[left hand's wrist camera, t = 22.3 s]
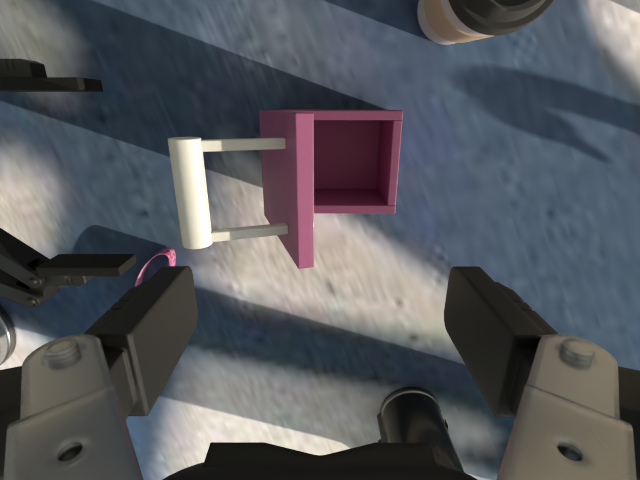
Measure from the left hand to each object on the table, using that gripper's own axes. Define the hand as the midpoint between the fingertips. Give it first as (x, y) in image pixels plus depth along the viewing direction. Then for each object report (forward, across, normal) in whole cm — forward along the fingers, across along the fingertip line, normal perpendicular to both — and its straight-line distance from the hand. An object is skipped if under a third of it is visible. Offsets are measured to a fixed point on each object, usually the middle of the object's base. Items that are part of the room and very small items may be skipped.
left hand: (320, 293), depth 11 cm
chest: (+35, -1, 0) cm, 35 cm away
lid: (+20, +2, 0) cm, 20 cm away
